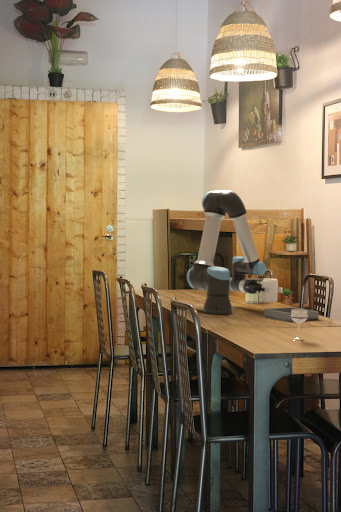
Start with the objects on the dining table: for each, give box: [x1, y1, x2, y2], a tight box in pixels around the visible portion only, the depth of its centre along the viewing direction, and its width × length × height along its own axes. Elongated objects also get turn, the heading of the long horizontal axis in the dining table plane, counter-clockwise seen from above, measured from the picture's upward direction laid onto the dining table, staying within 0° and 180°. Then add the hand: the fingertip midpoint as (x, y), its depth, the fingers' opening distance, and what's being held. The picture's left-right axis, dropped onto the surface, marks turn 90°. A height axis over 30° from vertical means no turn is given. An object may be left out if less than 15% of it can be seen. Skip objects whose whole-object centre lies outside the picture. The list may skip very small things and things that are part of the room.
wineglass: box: [291, 308, 309, 339], centre depth 287 cm, size 7×7×12 cm
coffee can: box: [244, 277, 264, 304], centre depth 422 cm, size 10×10×14 cm
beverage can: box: [261, 277, 279, 303], centre depth 372 cm, size 8×8×12 cm
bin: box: [263, 306, 319, 323], centre depth 354 cm, size 19×19×4 cm
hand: (275, 290), depth 368 cm, fingers closed on beverage can, 8 cm apart
